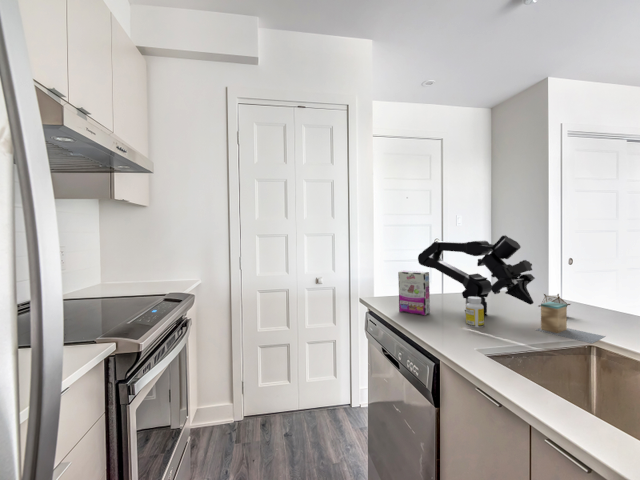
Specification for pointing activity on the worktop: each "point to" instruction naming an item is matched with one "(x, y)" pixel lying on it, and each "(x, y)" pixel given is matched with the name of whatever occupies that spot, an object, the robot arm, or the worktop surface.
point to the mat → (577, 335)
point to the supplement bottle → (474, 312)
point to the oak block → (554, 317)
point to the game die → (553, 299)
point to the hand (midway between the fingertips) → (532, 303)
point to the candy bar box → (414, 292)
